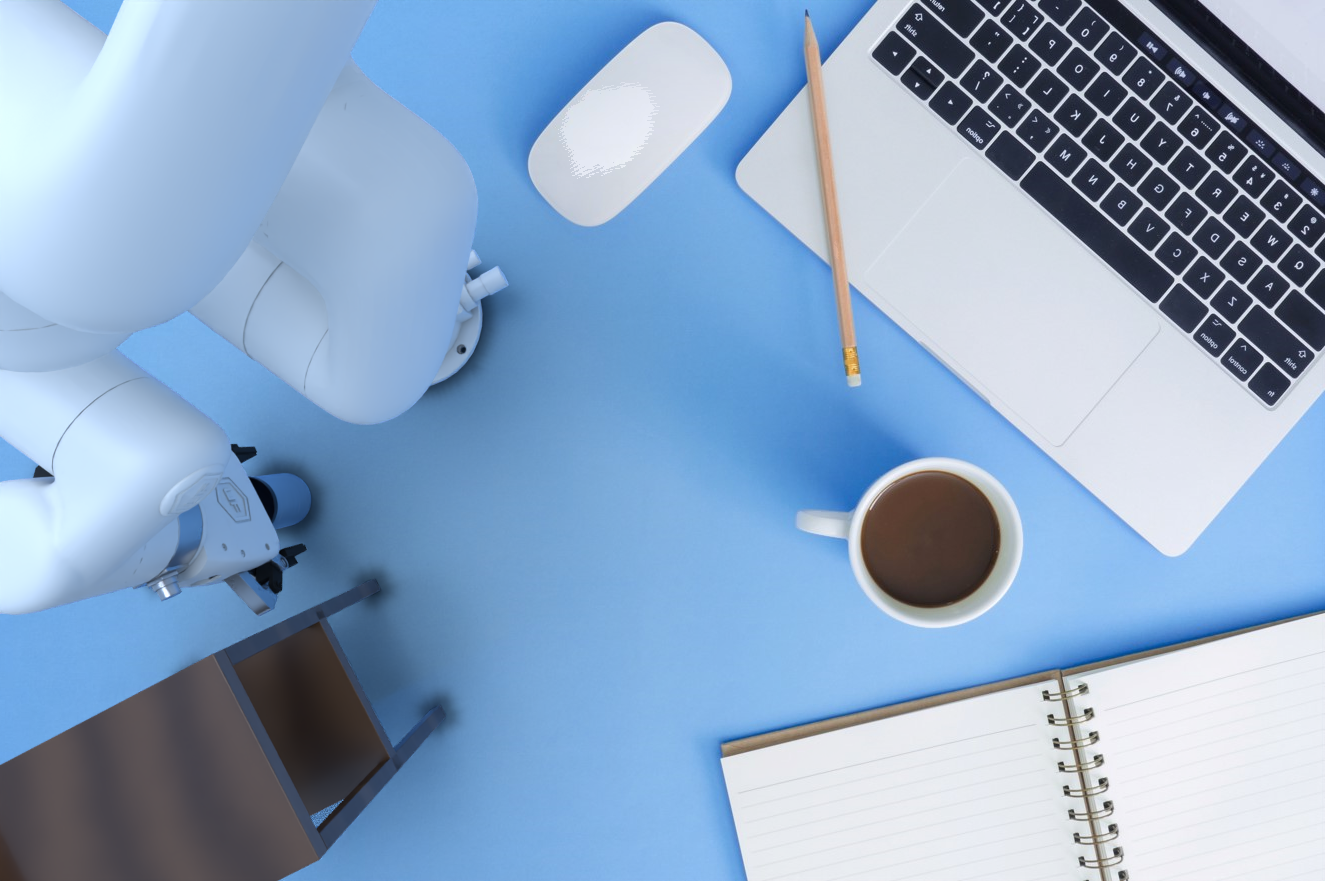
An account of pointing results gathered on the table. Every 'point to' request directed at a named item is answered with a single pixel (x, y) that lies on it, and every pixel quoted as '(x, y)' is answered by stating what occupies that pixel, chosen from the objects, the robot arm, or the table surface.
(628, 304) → the table surface
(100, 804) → the top shelf
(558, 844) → the table surface
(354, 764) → the rack frame
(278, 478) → the steel tin
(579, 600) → the table surface
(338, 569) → the table surface
